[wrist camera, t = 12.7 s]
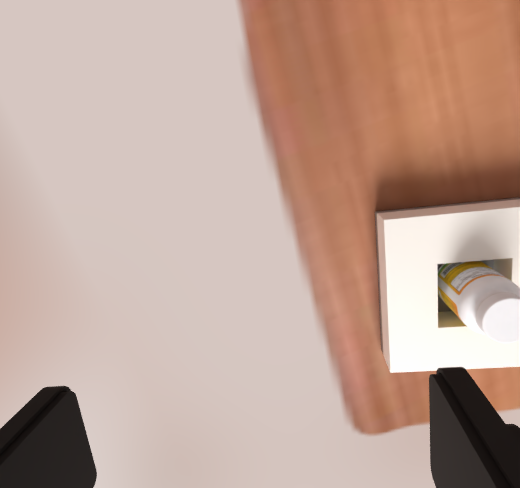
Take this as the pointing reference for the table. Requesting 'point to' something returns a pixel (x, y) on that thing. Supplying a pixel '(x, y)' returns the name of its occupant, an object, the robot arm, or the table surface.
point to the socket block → (426, 282)
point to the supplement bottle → (481, 299)
